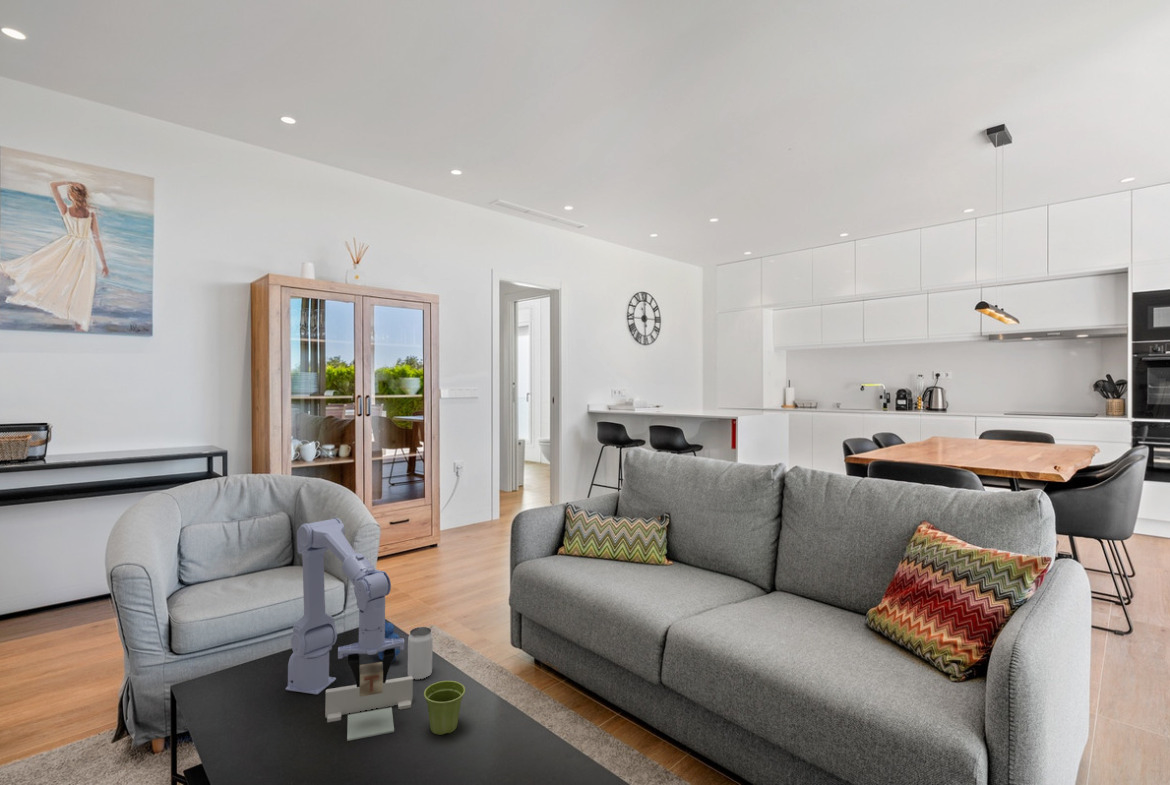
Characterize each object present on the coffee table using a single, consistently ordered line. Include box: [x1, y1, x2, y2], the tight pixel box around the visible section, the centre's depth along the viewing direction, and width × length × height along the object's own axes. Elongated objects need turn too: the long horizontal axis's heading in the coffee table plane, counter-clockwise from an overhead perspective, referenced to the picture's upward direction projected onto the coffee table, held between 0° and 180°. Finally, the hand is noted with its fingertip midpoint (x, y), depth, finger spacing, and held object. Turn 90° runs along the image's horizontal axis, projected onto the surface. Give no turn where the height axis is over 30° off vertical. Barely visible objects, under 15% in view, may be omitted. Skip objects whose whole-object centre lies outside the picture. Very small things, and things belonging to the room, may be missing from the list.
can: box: [407, 626, 434, 681], centre depth 160 cm, size 6×6×12 cm
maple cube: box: [359, 661, 383, 697], centre depth 137 cm, size 5×5×5 cm
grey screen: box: [324, 675, 414, 723], centre depth 144 cm, size 20×6×6 cm, turn 111°
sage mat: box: [346, 706, 395, 742], centre depth 137 cm, size 10×10×1 cm
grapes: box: [377, 619, 401, 663], centre depth 167 cm, size 12×7×12 cm, turn 64°
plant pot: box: [423, 680, 466, 736], centre depth 136 cm, size 9×9×9 cm
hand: (371, 683), depth 137 cm, fingers closed on maple cube, 5 cm apart
